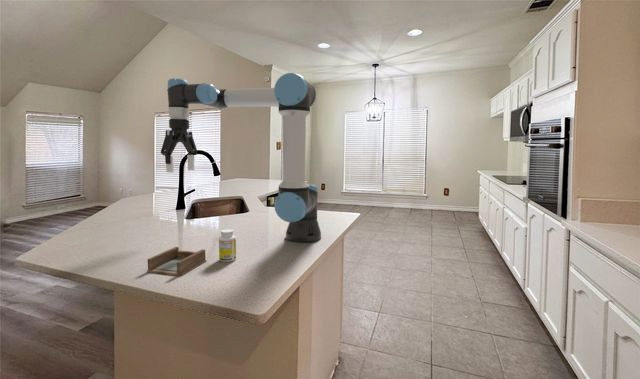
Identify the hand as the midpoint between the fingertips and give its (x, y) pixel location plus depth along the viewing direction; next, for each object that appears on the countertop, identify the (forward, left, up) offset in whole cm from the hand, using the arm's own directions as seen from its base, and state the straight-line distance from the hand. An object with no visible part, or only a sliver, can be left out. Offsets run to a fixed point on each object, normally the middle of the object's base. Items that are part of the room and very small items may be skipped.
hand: (181, 171), depth 136 cm
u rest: (-20, +31, -28) cm, 46 cm away
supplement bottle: (-32, +21, -28) cm, 47 cm away
